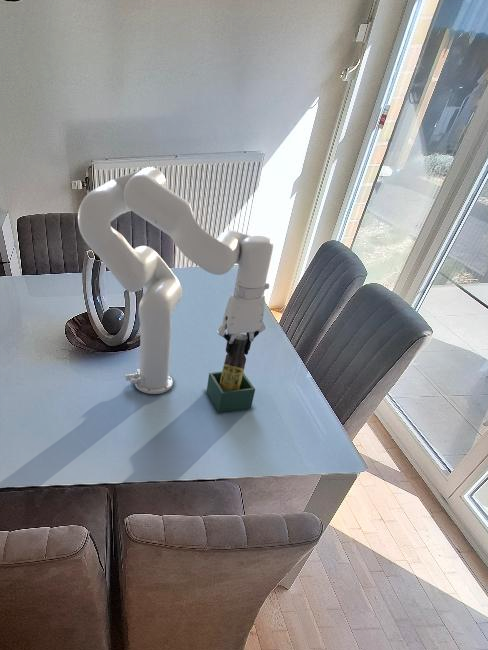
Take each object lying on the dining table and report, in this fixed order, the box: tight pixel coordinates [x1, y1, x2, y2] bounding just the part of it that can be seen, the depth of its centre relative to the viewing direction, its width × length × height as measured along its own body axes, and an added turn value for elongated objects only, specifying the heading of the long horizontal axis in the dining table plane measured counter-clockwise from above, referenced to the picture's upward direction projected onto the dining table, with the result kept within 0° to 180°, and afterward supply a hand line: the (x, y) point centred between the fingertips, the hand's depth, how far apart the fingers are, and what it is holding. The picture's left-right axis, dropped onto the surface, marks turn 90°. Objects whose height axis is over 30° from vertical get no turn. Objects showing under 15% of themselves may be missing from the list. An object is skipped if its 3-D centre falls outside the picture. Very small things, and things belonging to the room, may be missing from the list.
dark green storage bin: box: [206, 371, 256, 413], centre depth 143 cm, size 11×12×7 cm
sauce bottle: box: [220, 333, 248, 392], centre depth 137 cm, size 7×6×20 cm
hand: (237, 352), depth 133 cm, fingers closed on sauce bottle, 4 cm apart
